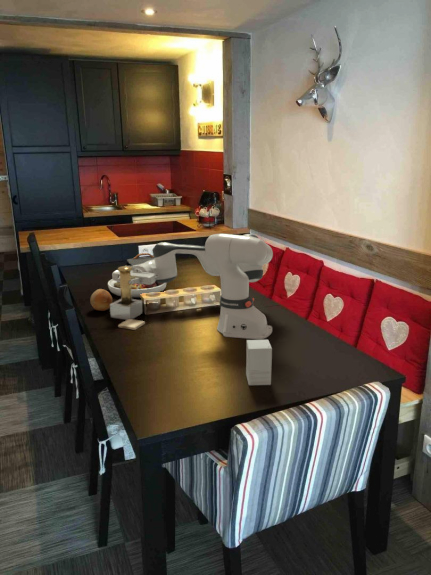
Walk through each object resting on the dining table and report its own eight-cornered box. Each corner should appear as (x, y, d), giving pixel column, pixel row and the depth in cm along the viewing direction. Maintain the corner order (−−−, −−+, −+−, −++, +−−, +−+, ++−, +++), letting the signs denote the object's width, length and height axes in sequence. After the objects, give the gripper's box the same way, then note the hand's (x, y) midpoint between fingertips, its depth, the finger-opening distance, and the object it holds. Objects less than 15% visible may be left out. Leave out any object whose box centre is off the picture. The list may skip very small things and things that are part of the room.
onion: (86, 312, 219) (84, 290, 216) (100, 305, 227) (99, 285, 224) (103, 315, 214) (101, 293, 211) (117, 308, 223) (116, 288, 220)
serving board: (177, 273, 285) (176, 263, 284) (138, 277, 277) (137, 267, 276) (159, 259, 320) (159, 250, 318) (125, 262, 312) (124, 253, 310)
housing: (142, 313, 217) (141, 300, 215) (130, 320, 208) (129, 307, 206) (123, 310, 221) (122, 297, 219) (110, 317, 212) (109, 304, 210)
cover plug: (136, 304, 215) (134, 266, 210) (128, 308, 210) (126, 270, 205) (124, 302, 217) (122, 265, 213) (117, 306, 212) (114, 268, 207)
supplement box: (267, 374, 159) (269, 339, 155) (271, 385, 152) (272, 348, 148) (245, 375, 159) (246, 339, 155) (247, 385, 152) (248, 348, 148)
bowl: (98, 297, 241) (97, 282, 239) (123, 281, 269) (122, 267, 267) (154, 301, 234) (154, 286, 232) (174, 284, 262) (174, 270, 260)
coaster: (145, 323, 204) (145, 321, 204) (134, 330, 197) (134, 327, 197) (128, 321, 207) (128, 318, 207) (118, 327, 200) (118, 324, 200)
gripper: (161, 283, 219) (145, 291, 207) (123, 278, 227) (105, 286, 214) (160, 269, 217) (144, 277, 205) (122, 265, 225) (104, 272, 213)
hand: (124, 281), depth 210 cm, fingers closed on cover plug, 5 cm apart
